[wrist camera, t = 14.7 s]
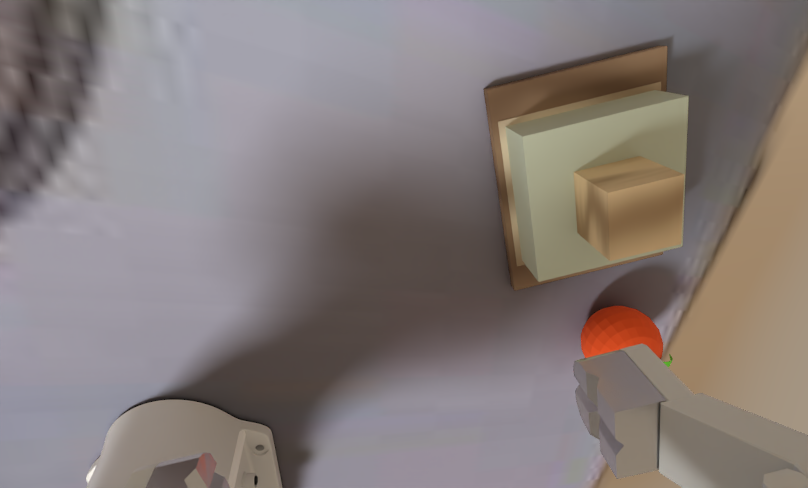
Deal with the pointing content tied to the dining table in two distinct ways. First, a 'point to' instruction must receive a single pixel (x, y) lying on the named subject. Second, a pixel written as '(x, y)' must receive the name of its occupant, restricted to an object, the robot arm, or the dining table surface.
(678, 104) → the plinth block
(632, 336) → the clementine
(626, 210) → the oak cube
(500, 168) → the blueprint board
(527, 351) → the dining table surface
